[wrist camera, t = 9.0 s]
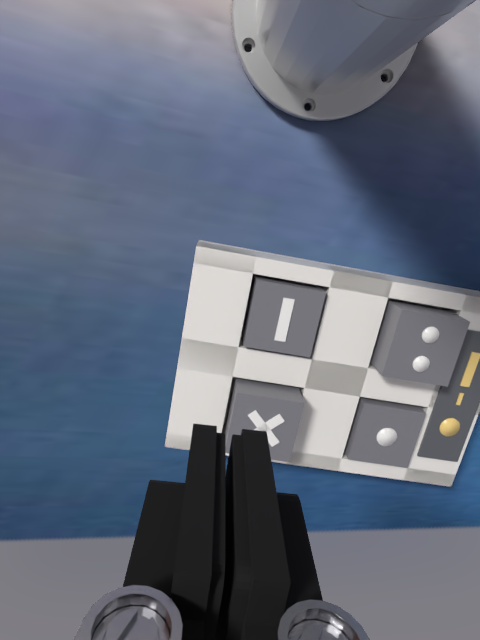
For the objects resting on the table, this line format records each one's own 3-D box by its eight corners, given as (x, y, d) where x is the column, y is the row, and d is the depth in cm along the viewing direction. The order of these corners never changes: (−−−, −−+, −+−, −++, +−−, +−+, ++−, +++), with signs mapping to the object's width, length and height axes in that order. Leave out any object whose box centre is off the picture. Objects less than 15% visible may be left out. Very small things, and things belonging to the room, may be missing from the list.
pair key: (386, 298, 33) (402, 310, 30) (449, 310, 34) (471, 322, 31) (368, 360, 35) (382, 376, 32) (429, 370, 35) (448, 387, 32)
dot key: (353, 386, 37) (364, 404, 34) (410, 395, 37) (426, 413, 35) (338, 438, 38) (348, 460, 35) (393, 447, 39) (408, 468, 36)
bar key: (253, 271, 34) (256, 280, 31) (317, 283, 34) (326, 292, 31) (241, 333, 35) (243, 347, 32) (303, 343, 36) (310, 358, 33)
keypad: (199, 239, 34) (196, 246, 30) (492, 293, 36) (522, 305, 33) (169, 423, 39) (164, 448, 35) (432, 461, 41) (452, 489, 37)
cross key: (235, 375, 35) (236, 393, 32) (297, 385, 35) (304, 403, 32) (224, 431, 36) (224, 453, 33) (284, 440, 37) (289, 462, 34)
